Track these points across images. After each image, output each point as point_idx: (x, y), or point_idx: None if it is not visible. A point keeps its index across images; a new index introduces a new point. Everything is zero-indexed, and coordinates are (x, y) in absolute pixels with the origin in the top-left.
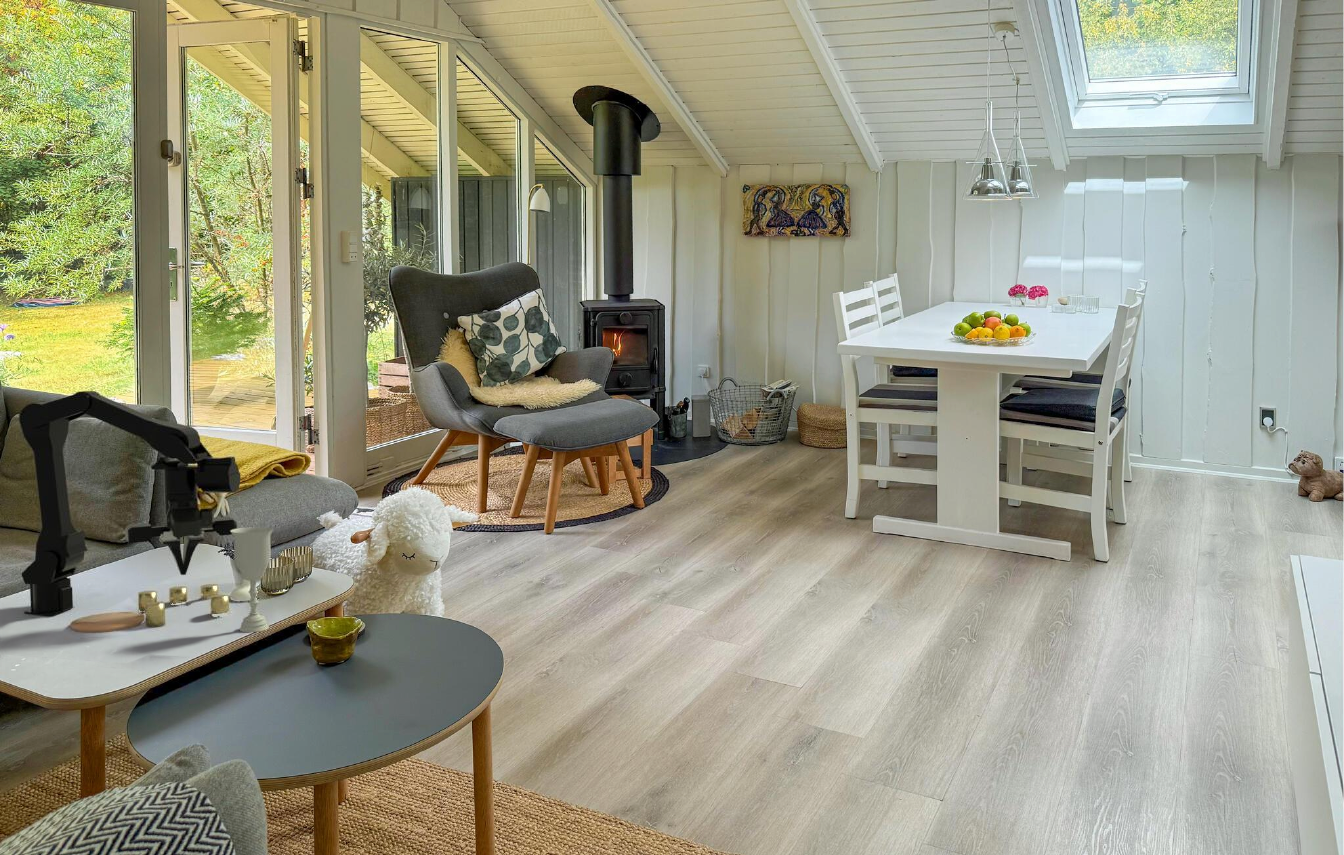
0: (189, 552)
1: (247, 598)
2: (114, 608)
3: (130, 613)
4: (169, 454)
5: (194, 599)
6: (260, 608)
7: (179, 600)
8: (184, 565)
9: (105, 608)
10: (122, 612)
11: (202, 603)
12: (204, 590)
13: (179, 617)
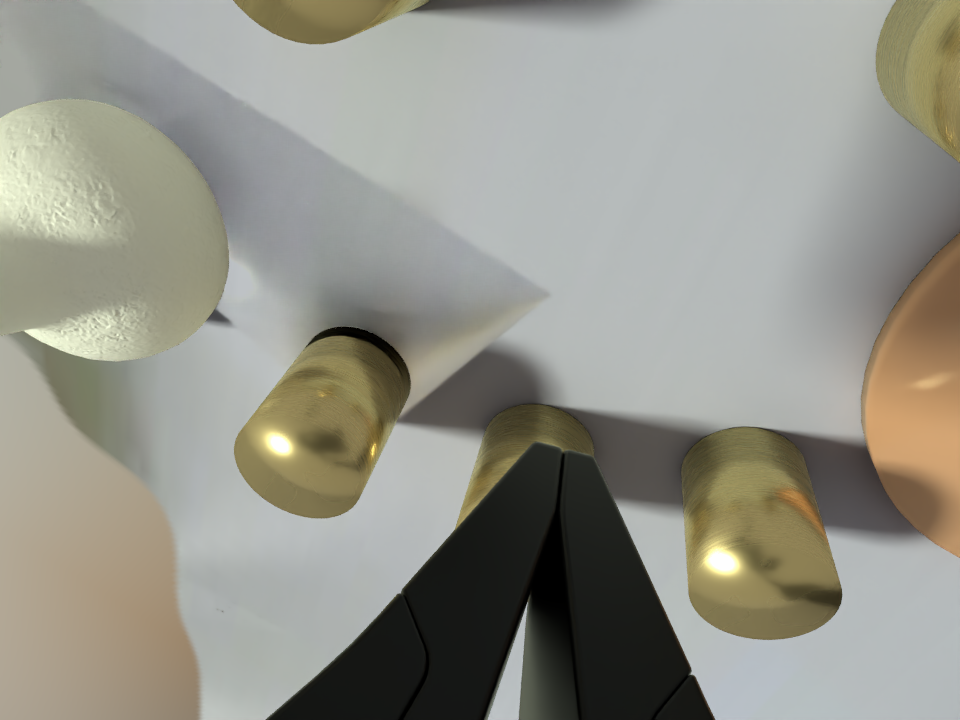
0: (400, 704)
1: (78, 118)
2: (805, 675)
3: (915, 463)
4: None
5: (391, 561)
6: (45, 33)
7: None
8: (541, 528)
9: (836, 702)
10: (930, 521)
11: (379, 460)
12: (353, 430)
13: (653, 197)
